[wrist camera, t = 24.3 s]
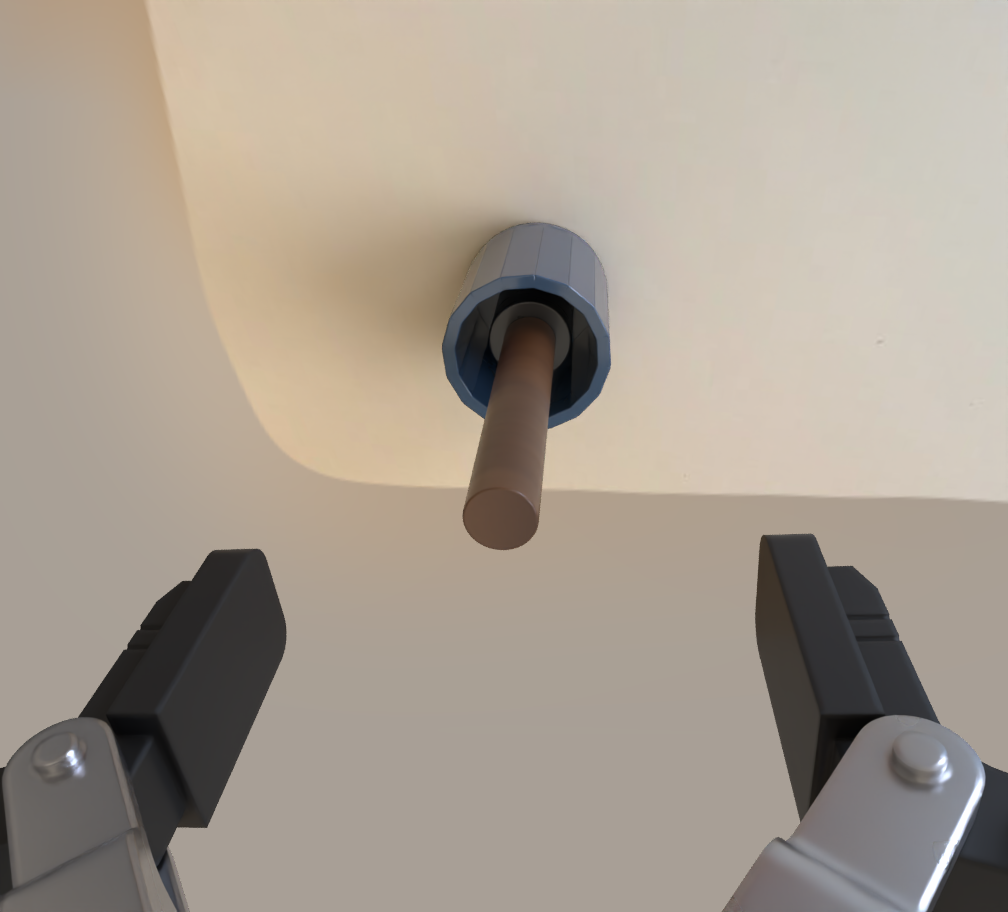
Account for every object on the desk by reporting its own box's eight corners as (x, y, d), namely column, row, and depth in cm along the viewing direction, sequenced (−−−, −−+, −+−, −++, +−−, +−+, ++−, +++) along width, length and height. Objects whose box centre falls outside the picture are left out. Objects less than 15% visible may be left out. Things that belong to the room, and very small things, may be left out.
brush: (504, 333, 37) (449, 570, 23) (496, 263, 36) (430, 470, 21) (576, 328, 37) (566, 567, 22) (571, 257, 35) (556, 465, 21)
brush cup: (476, 361, 39) (455, 434, 33) (458, 228, 35) (431, 282, 30) (610, 352, 38) (614, 426, 32) (603, 216, 35) (606, 269, 29)
